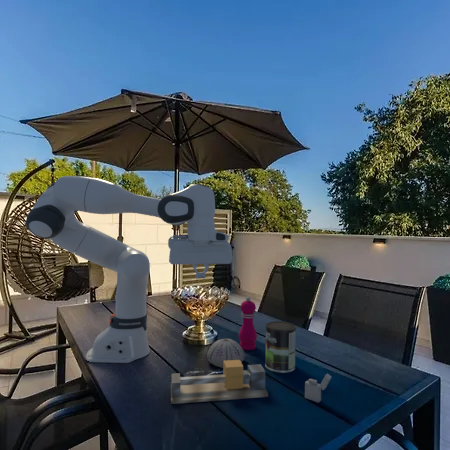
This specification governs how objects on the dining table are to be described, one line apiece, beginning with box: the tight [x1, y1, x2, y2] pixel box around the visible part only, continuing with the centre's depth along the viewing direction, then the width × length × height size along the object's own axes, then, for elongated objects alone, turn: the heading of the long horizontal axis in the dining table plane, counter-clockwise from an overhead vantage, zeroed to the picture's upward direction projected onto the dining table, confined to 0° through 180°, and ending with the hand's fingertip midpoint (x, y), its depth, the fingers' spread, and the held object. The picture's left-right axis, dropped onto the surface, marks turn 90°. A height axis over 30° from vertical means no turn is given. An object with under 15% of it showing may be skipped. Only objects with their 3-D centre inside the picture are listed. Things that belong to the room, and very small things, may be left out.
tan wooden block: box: [222, 360, 244, 389], centre depth 97 cm, size 5×5×6 cm
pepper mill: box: [238, 296, 258, 351], centre depth 131 cm, size 7×7×20 cm
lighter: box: [304, 373, 332, 404], centre depth 91 cm, size 7×2×8 cm, turn 51°
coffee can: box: [264, 320, 297, 374], centre depth 113 cm, size 10×10×14 cm
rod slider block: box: [170, 363, 269, 405], centre depth 96 cm, size 27×10×6 cm, turn 99°
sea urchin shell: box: [206, 338, 246, 369], centre depth 116 cm, size 13×14×8 cm
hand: (200, 278), depth 106 cm, fingers closed
